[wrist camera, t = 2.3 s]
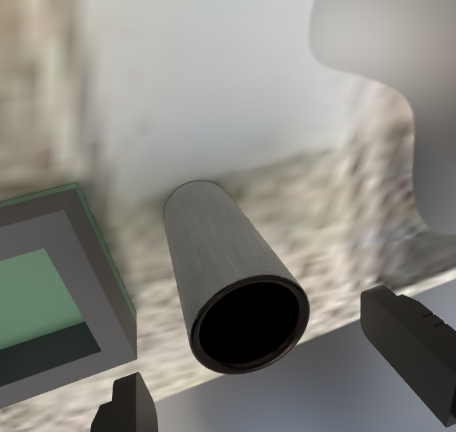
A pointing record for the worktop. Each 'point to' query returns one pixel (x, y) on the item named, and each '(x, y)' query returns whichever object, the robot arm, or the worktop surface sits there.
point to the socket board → (58, 296)
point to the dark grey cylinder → (230, 283)
